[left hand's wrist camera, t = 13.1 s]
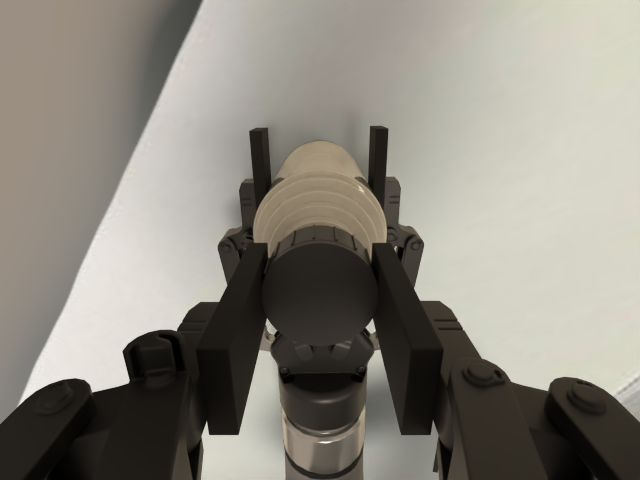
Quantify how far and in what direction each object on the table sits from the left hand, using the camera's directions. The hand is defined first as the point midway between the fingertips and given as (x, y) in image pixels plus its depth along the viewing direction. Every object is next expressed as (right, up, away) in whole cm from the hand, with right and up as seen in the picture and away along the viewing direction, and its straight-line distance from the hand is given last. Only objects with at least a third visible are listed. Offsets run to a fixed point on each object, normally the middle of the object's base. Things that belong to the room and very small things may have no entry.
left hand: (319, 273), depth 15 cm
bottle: (0, +6, +16) cm, 17 cm away
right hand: (0, +9, +8) cm, 12 cm away
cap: (0, -1, -1) cm, 2 cm away
